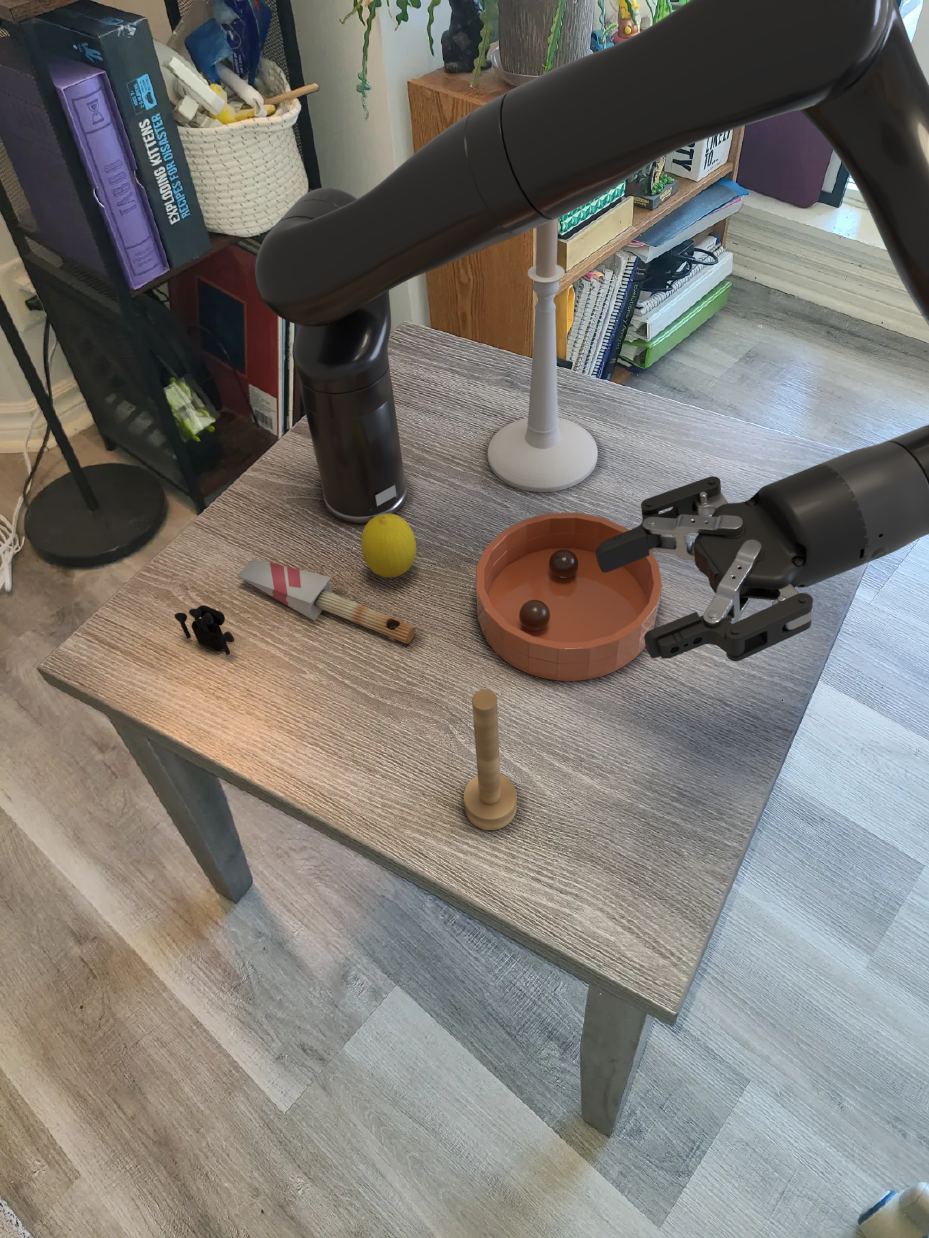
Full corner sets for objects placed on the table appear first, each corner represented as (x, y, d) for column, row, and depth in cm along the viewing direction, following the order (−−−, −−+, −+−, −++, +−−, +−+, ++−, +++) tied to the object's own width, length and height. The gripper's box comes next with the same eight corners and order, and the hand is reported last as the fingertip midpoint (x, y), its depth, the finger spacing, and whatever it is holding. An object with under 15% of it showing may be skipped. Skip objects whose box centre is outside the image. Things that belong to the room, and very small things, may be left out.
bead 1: (512, 622, 88) (512, 603, 86) (536, 608, 89) (537, 588, 87) (531, 641, 86) (532, 622, 84) (556, 627, 87) (557, 607, 85)
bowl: (443, 598, 91) (440, 564, 88) (576, 523, 97) (578, 488, 94) (553, 712, 82) (554, 680, 78) (692, 621, 88) (700, 587, 84)
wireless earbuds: (181, 639, 90) (165, 606, 86) (196, 622, 91) (182, 589, 87) (237, 663, 87) (224, 630, 83) (252, 645, 89) (240, 612, 85)
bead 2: (542, 572, 92) (542, 552, 90) (565, 559, 93) (566, 538, 91) (561, 589, 91) (562, 569, 88) (583, 576, 92) (585, 555, 89)
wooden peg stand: (454, 802, 77) (441, 694, 64) (495, 774, 78) (490, 664, 66) (485, 840, 74) (477, 736, 62) (527, 811, 76) (527, 704, 63)
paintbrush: (253, 544, 93) (419, 613, 87) (257, 562, 95) (421, 631, 89) (230, 569, 91) (399, 641, 85) (235, 586, 93) (401, 658, 87)
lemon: (426, 560, 95) (420, 504, 89) (407, 597, 92) (399, 542, 86) (378, 549, 96) (369, 494, 90) (358, 586, 93) (347, 531, 87)
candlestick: (619, 448, 105) (646, 191, 82) (553, 508, 99) (562, 248, 76) (532, 407, 111) (535, 156, 88) (465, 462, 105) (449, 207, 82)
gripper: (788, 414, 63) (575, 500, 63) (911, 543, 54) (661, 644, 54) (786, 491, 69) (590, 569, 69) (896, 620, 60) (670, 711, 60)
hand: (621, 602), depth 61 cm, fingers open, 8 cm apart
